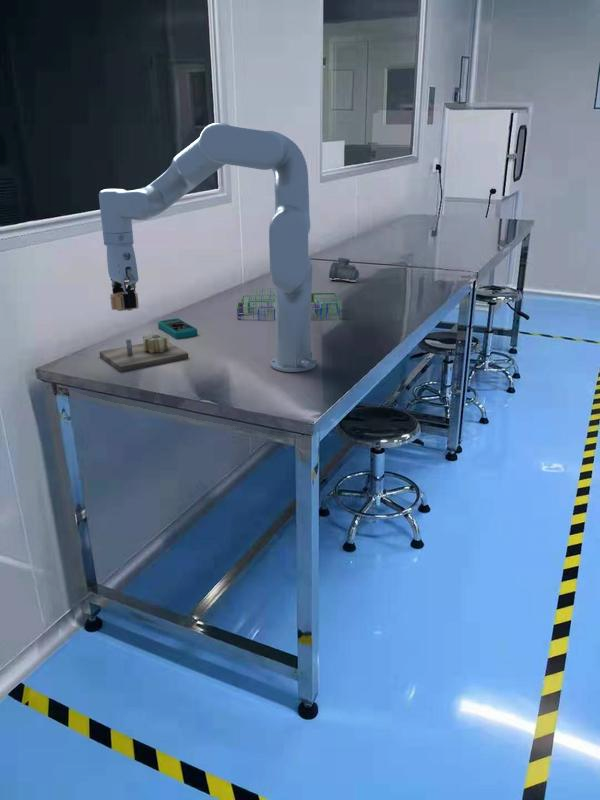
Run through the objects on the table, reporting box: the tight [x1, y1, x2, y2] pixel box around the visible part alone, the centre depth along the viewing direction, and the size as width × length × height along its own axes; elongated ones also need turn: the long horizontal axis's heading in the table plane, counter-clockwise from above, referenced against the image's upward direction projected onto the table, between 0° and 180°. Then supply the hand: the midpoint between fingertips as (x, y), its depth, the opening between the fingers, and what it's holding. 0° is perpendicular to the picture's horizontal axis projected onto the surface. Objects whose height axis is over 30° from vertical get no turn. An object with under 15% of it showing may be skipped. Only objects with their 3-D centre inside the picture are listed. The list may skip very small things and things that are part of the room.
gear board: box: [99, 333, 189, 373], centre depth 183 cm, size 16×20×6 cm
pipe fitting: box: [328, 257, 360, 280], centre depth 277 cm, size 12×8×10 cm
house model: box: [236, 288, 340, 321], centre depth 234 cm, size 35×30×5 cm
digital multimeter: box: [157, 317, 198, 340], centre depth 207 cm, size 8×15×3 cm, turn 33°
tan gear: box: [110, 292, 140, 312], centre depth 175 cm, size 7×7×4 cm
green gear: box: [142, 332, 170, 353], centre depth 185 cm, size 7×7×4 cm
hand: (125, 304), depth 175 cm, fingers closed on tan gear, 7 cm apart
